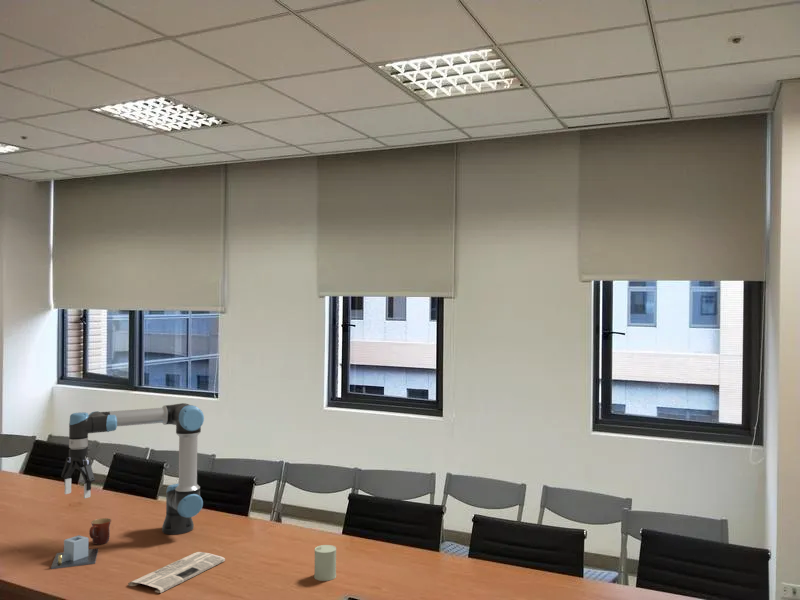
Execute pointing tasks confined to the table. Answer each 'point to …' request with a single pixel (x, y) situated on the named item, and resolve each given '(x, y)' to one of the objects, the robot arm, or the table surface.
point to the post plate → (83, 561)
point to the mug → (100, 531)
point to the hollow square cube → (75, 548)
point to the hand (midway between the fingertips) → (77, 495)
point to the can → (325, 562)
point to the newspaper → (179, 571)
